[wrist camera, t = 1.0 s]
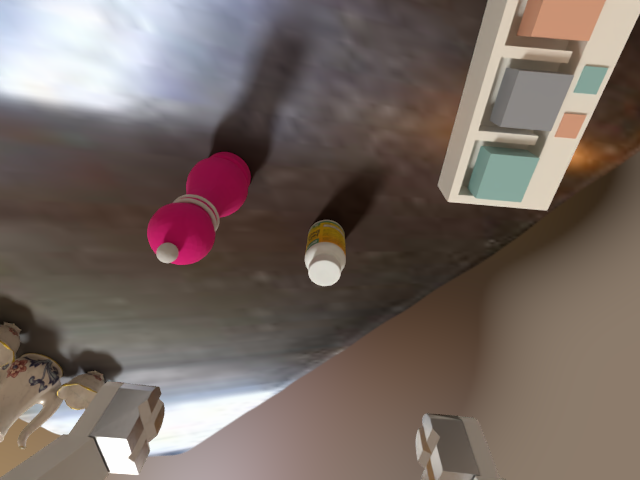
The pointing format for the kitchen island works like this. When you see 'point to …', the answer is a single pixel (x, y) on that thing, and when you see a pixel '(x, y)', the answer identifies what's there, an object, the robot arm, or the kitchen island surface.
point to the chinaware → (36, 385)
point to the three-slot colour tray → (533, 54)
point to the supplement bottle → (325, 252)
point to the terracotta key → (560, 19)
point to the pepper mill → (199, 209)
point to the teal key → (502, 173)
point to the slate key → (530, 99)
